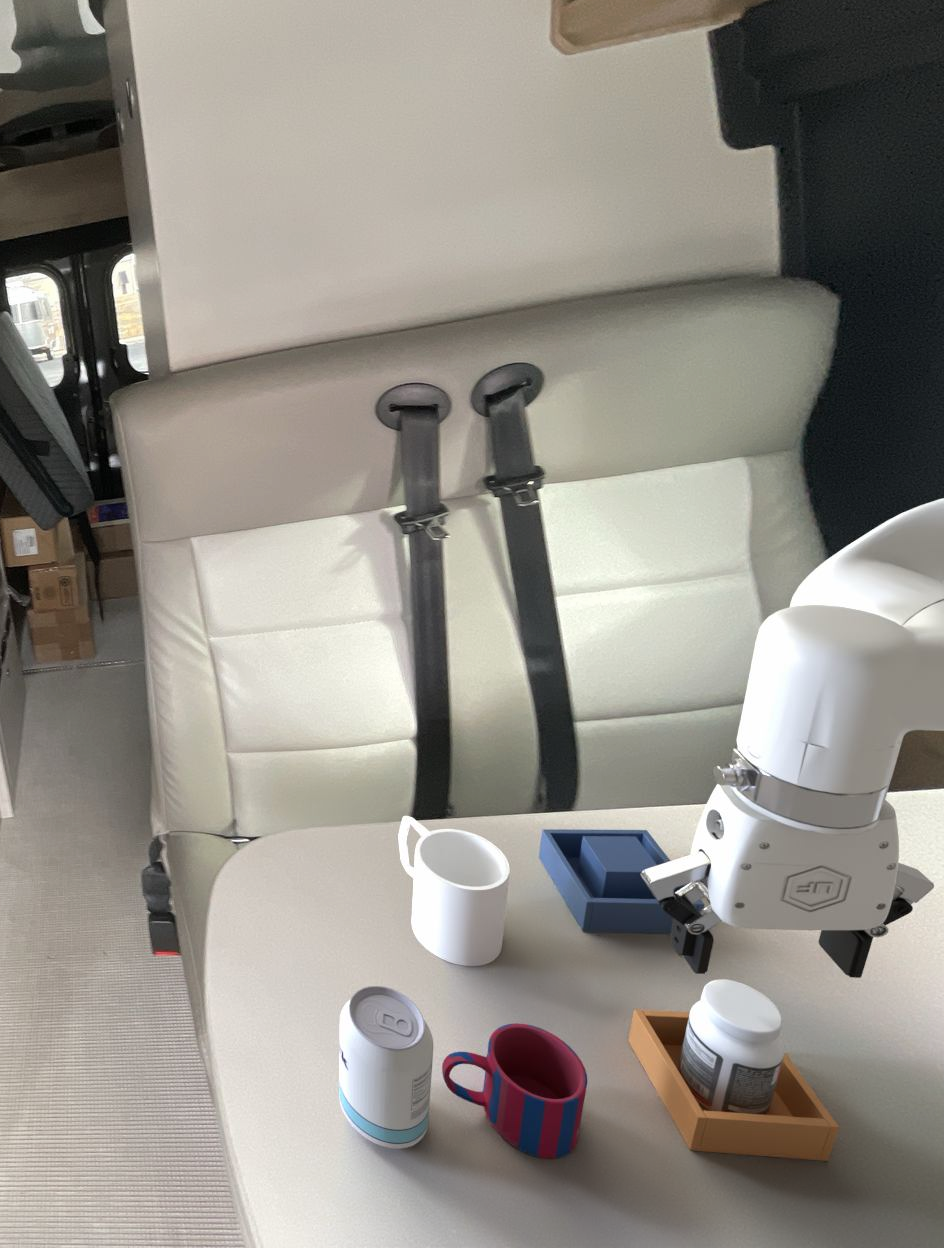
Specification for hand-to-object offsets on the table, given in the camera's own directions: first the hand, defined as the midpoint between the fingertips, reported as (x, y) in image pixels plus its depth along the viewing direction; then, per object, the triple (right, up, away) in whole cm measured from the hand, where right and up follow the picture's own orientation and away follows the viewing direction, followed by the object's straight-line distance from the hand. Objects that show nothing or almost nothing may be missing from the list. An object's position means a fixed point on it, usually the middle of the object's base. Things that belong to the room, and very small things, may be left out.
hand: (762, 959), depth 63 cm
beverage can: (-25, -18, +8) cm, 32 cm away
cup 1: (-11, -9, +25) cm, 29 cm away
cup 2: (-15, -17, +7) cm, 24 cm away
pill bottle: (+2, -14, +6) cm, 15 cm away
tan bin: (+2, -14, +6) cm, 16 cm away
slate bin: (+8, -6, +25) cm, 26 cm away
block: (+8, -5, +24) cm, 26 cm away
